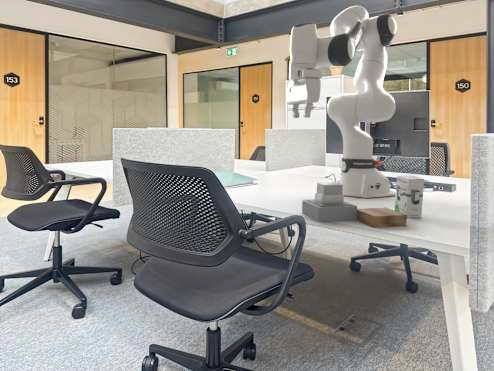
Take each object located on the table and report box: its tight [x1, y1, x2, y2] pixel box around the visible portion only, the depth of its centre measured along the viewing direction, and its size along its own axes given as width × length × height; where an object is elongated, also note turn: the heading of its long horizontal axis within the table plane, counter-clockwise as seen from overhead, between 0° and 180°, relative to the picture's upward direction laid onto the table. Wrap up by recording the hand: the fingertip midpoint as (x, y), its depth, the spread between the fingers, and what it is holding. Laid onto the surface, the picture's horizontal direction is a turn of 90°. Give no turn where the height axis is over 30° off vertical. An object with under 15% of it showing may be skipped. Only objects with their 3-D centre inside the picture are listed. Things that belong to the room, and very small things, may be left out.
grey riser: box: [301, 198, 358, 223], centre depth 122 cm, size 12×12×4 cm
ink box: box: [394, 174, 425, 219], centre depth 125 cm, size 9×5×12 cm, turn 4°
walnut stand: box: [356, 207, 408, 228], centre depth 116 cm, size 10×10×3 cm
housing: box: [314, 181, 345, 204], centre depth 122 cm, size 7×5×6 cm
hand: (301, 117), depth 136 cm, fingers open, 8 cm apart
